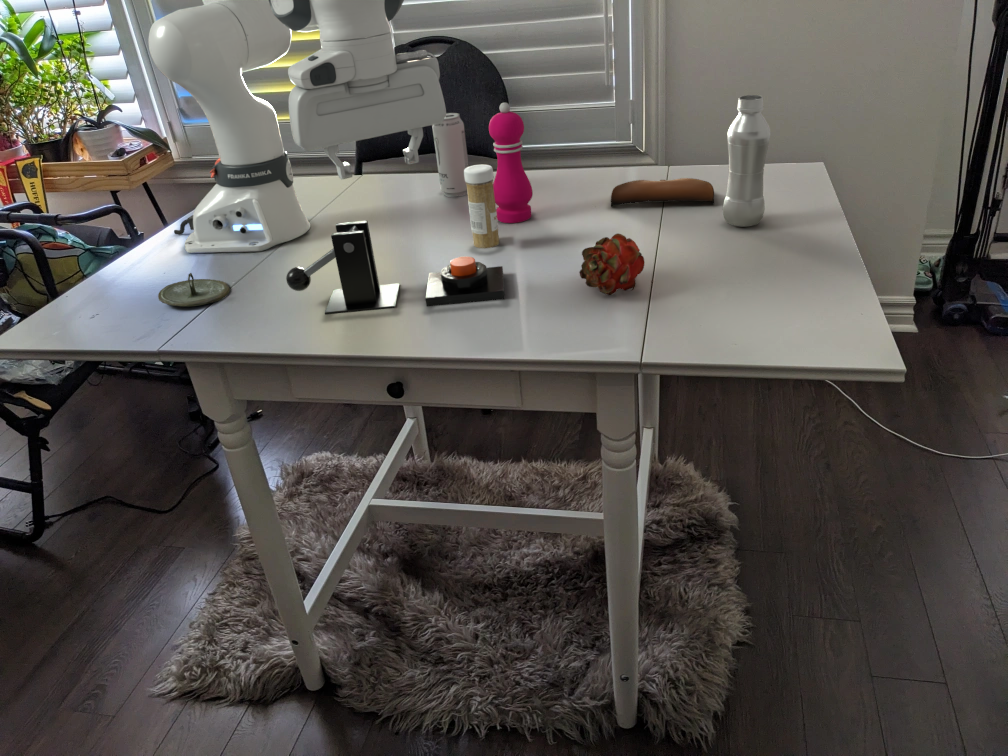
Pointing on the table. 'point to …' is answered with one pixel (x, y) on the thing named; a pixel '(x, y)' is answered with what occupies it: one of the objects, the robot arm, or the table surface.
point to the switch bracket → (358, 273)
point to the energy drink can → (451, 155)
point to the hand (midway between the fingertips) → (379, 170)
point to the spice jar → (482, 205)
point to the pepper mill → (510, 167)
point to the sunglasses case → (662, 191)
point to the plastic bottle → (746, 163)
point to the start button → (463, 266)
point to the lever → (309, 270)
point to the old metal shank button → (193, 292)
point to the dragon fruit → (612, 264)
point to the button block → (465, 286)
